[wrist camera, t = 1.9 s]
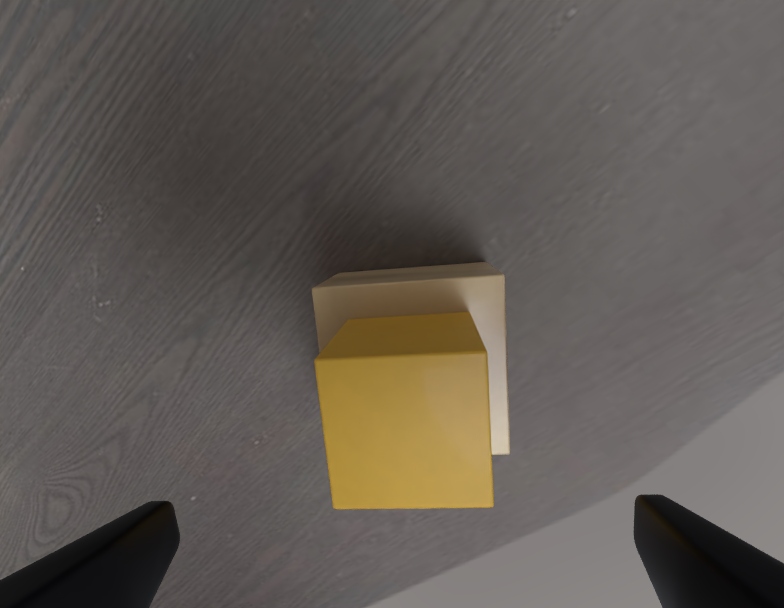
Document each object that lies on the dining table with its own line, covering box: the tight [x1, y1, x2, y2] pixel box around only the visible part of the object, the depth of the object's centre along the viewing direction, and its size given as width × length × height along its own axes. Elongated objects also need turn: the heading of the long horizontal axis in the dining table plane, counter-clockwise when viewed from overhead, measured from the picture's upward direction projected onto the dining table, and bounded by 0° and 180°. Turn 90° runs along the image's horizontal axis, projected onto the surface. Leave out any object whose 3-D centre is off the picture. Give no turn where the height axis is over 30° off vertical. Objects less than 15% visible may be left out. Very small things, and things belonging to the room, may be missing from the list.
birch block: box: [312, 262, 510, 455], centre depth 17 cm, size 7×7×4 cm
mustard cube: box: [314, 312, 494, 509], centre depth 13 cm, size 4×4×4 cm
